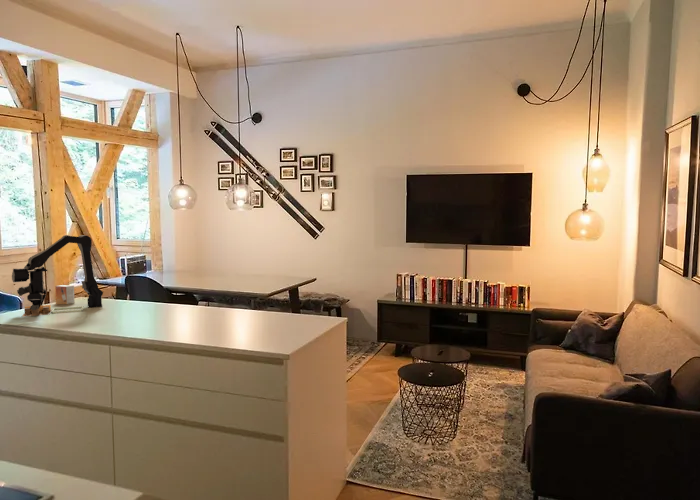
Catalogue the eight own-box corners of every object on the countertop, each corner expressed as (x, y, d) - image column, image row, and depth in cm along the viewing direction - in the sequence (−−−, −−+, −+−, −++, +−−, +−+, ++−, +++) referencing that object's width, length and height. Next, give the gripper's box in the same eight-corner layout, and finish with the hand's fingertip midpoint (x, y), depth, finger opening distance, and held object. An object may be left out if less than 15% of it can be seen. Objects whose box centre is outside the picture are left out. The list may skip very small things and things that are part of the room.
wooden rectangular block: (50, 311, 262) (50, 304, 262) (49, 312, 259) (49, 305, 259) (26, 312, 258) (25, 305, 258) (24, 314, 255) (24, 307, 254)
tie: (38, 307, 252) (38, 304, 252) (36, 309, 246) (36, 306, 246) (32, 307, 251) (31, 304, 251) (29, 310, 245) (29, 307, 245)
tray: (83, 308, 272) (83, 306, 271) (82, 312, 262) (82, 309, 262) (53, 310, 266) (53, 308, 266) (51, 314, 257) (51, 311, 257)
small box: (55, 304, 284) (54, 286, 283) (63, 302, 289) (63, 284, 288) (66, 305, 282) (66, 286, 281) (75, 303, 287) (74, 285, 286)
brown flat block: (53, 310, 266) (52, 303, 266) (49, 315, 253) (48, 308, 253) (26, 312, 262) (26, 304, 261) (21, 317, 248) (20, 309, 248)
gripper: (21, 279, 262) (22, 308, 264) (14, 283, 245) (16, 315, 247) (46, 277, 267) (47, 306, 268) (40, 282, 250) (42, 313, 251)
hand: (38, 310), depth 258 cm, fingers open, 9 cm apart
